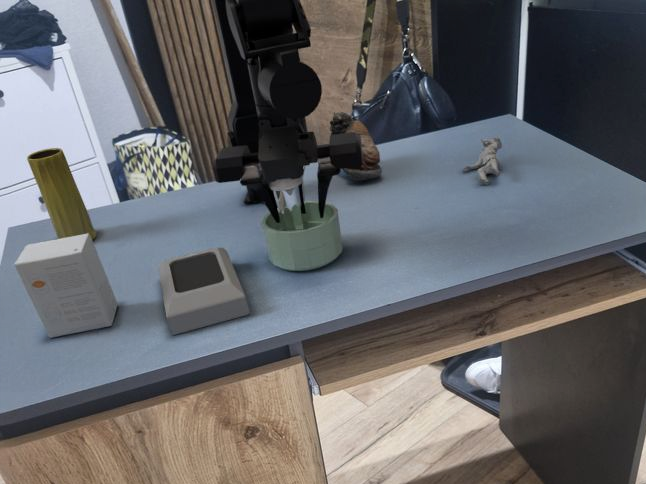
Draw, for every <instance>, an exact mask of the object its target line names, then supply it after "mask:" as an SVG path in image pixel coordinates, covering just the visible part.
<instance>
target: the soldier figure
mask: <svg viewBox="0 0 646 484" xmlns="http://www.w3.org/2000/svg"><path fill="white" fill-rule="evenodd" d="M493 139H494V140H493ZM480 141H481V143H482V145H483V147H484V148H482V152H481V153H480V155H479V157H478V161H477V162H476V163H474V164H471V165H465V166H464V167H463V168H462V171H464V170H465V172H467V171H468V170H476V169H477V176H478V177H477V179H476V181H477V182H478V183H479V184H481V185H482V184H484V185H485V186H488V185H490V181H489V180H488V177H487V175H490V174H492V175H495V176H497V177H498V176H500V175H501V174H500V171H499V168H498V167H499V164H500V162H499V158H498V157H497V152H498V150H500V149H502V147H503V144H502V140H501V138H499V137H498V136H494V137H493V138H492V139H488V138H481V139H480Z"/></svg>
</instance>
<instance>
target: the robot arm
mask: <svg viewBox="0 0 646 484" xmlns="http://www.w3.org/2000/svg"><path fill="white" fill-rule="evenodd" d="M211 3H212V9H213V13H214V17H215V21H216V22H215V23H216V28H217V31H218V36H219V40H220V46H221V49H222V55H223V59H224V63H225V64H224V65H225V68H226V72H227V78H228V81H229V86H230V91H231V96H232V102H231V106H230V109H229V113H228V116H227V123H228V129H229V131H227V132H226V135H227V136H226V139H227V147H221V149H220V150H219V152H218V153H217V156H216V157H215V159H214V161H213V162H212V171H213V174H214V179H215V183H218V184H223V183H231V182H232V183H233V182H239V184H240V186H242V187H246V191H247V192H246V194H245V197H244V200H243V203H244V205H250V204H251V205H252V204H259V203H263V204H264V205H265V207H266V208H267V210H268V211H269V212H270V213H271V215H272V216H273V218H274V220H275V221H276V223H280V218H279V215H278V211H277V208H276V206H275V203H274V200H273V197H272V194H271V191H270V189H269V182H274V181H276V180H280V179H289V178H290V179H298V178H300V177H301V176H304V175H303V173H304V174H305V171H304V166H305V167H307V166H310V164H317V173H316V178H317V191H318V192H317V196H318V197H317V199H318V200H317V201H318V204H319V214H320V218H323V216H324V210H325V204H326V203H327V198H328V192H329V188H330V185H331V181H332V179H333V177H334V176H339V175H340V174H341V173H342V170H343V169H345V168H354V167H359V166H361V165H363V151H362V142H361V136H360V135H359V134H357V133H356V132H352V133H344V134H335V135H331V134H330V135H329V140H328V143H324V144H317V143H318V142H317V138H316V135H315V132H314V131H308V127H307V120H306V118H307V117H309V116H310V115H311V114H313V113H314V111H316V109H317V108H318V106H319V104H320V102H321V99H322V94H323V91H322V90H323V88H322V87H323V86H322V82H321V80H320V78H319V76H318V73H317V72H316V71H315V70H314V68H312V67H311V66H310V65H308V64H306V63H305V62H303V61H302V60H301V57H300V53H299V50H301V49H306V48H311V47H312V44H311V43H312V42H311V39H310V38H311V36H312V35H311V34H312V29H311V25H310V23H309V20H308V18H307V15H306V12H305V10H304V7H303V5H302V2H301V0H211ZM294 30H295V32H294Z"/></svg>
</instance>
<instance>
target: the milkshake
mask: <svg viewBox="0 0 646 484" xmlns="http://www.w3.org/2000/svg"><path fill="white" fill-rule="evenodd" d="M303 168H304V173H303V175H302V176H301V177H300V178H298V179H290V178H289V179H280V180H276V181H274V182H269V189H270V191H271V194H272V197H273V200H274V203H275V206H276V208H277V211H278V215H279V218H280V221H281V224H282V227H283V231H299V230H306V229H308V223H307V216H306V208H305V201H306V198H305V197H306V196H305V195H306V194H305V185H304V176H305V175H304V174H305V171H306V166H303Z"/></svg>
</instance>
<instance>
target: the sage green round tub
mask: <svg viewBox="0 0 646 484" xmlns="http://www.w3.org/2000/svg"><path fill="white" fill-rule="evenodd" d="M305 208H306V216H307V223H308V229H306V230H299V231H283V227H282V224H281V221H280V223H276V221H275V220H274V218H273V216H272V215H271V213H270V211H269V212H268V213H266V214H265V216H263V218H262V221H261V228H262V231H263V236H264V241H265V245H266V250H267V254H268V259H269V261H270V263H271V264H272V265H273V266H275V267H277V268H280V269H282V270H284V271H290V272H306V271H312V270H316V269H319V268H322V267H325V266H327V265H329V264H330V263H332V262H334V260H336V259H337V258H338V257H339V255H341V254H342V252H343V240H342V232H341V225H340V218H339V211H338V208H337V207H336V206H335V205H334V204H333V203H332V204H331V203H328V202H326V204H325V210H324V216H323V218H320V214H319V204H318V200H307V201H306V200H305Z"/></svg>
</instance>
